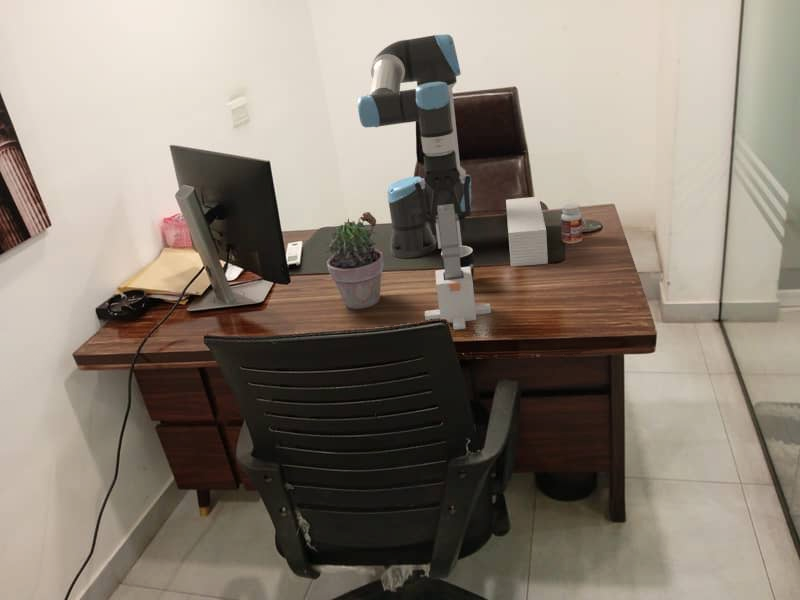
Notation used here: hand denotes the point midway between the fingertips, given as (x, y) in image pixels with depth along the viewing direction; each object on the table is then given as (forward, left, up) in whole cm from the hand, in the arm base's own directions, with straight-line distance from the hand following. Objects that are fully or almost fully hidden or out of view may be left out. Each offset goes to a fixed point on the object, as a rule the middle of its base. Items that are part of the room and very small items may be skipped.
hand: (449, 245), depth 166 cm
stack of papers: (-43, +24, -20) cm, 53 cm away
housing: (0, 0, -19) cm, 19 cm away
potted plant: (-14, -27, -19) cm, 36 cm away
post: (0, 0, -15) cm, 15 cm away
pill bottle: (-42, +38, -19) cm, 60 cm away
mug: (-20, +2, -19) cm, 28 cm away
